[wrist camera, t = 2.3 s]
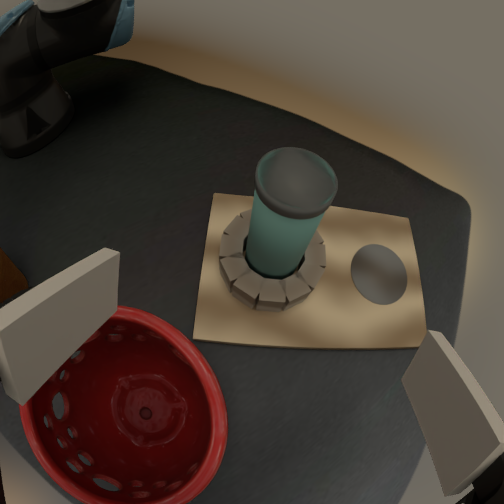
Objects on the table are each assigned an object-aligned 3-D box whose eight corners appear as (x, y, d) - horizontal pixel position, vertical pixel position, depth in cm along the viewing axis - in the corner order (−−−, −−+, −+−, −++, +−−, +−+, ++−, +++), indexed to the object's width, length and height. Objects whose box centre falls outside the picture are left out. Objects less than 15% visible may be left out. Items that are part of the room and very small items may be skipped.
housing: (214, 198, 34) (213, 175, 30) (404, 222, 35) (419, 204, 32) (193, 340, 27) (189, 331, 23) (422, 347, 28) (444, 339, 24)
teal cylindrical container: (245, 238, 31) (258, 142, 19) (295, 243, 31) (333, 153, 20) (241, 286, 28) (253, 204, 17) (295, 291, 29) (341, 215, 17)
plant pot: (171, 498, 19) (139, 555, 9) (67, 407, 22) (-12, 401, 11) (255, 398, 25) (278, 401, 14) (144, 313, 27) (99, 258, 17)
